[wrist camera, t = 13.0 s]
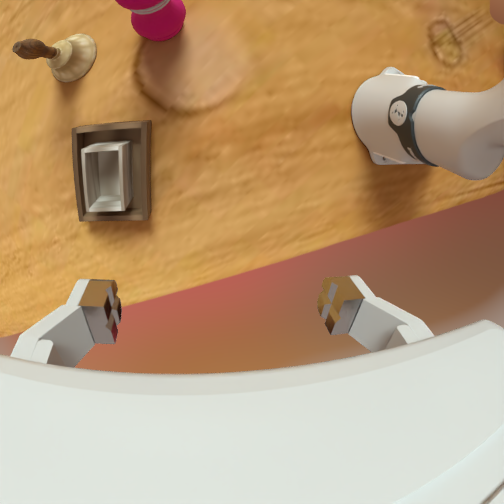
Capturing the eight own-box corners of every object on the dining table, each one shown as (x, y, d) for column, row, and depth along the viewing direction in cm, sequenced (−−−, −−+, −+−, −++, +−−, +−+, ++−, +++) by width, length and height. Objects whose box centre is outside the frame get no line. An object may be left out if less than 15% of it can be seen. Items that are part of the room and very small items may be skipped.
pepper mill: (158, 53, 31) (124, 14, 14) (128, 26, 27) (80, -21, 10) (196, 23, 29) (197, -36, 12) (167, -4, 26) (147, -69, 9)
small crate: (132, 140, 36) (121, 146, 31) (133, 196, 40) (124, 210, 35) (95, 142, 35) (81, 149, 30) (99, 197, 39) (86, 211, 34)
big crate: (151, 120, 36) (146, 121, 33) (151, 211, 43) (147, 220, 40) (81, 126, 33) (71, 128, 30) (86, 212, 40) (79, 221, 37)
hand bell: (70, 92, 30) (13, 94, 17) (43, 65, 26) (-16, 61, 12) (106, 51, 28) (61, 30, 15) (77, 25, 24) (27, 1, 11)
